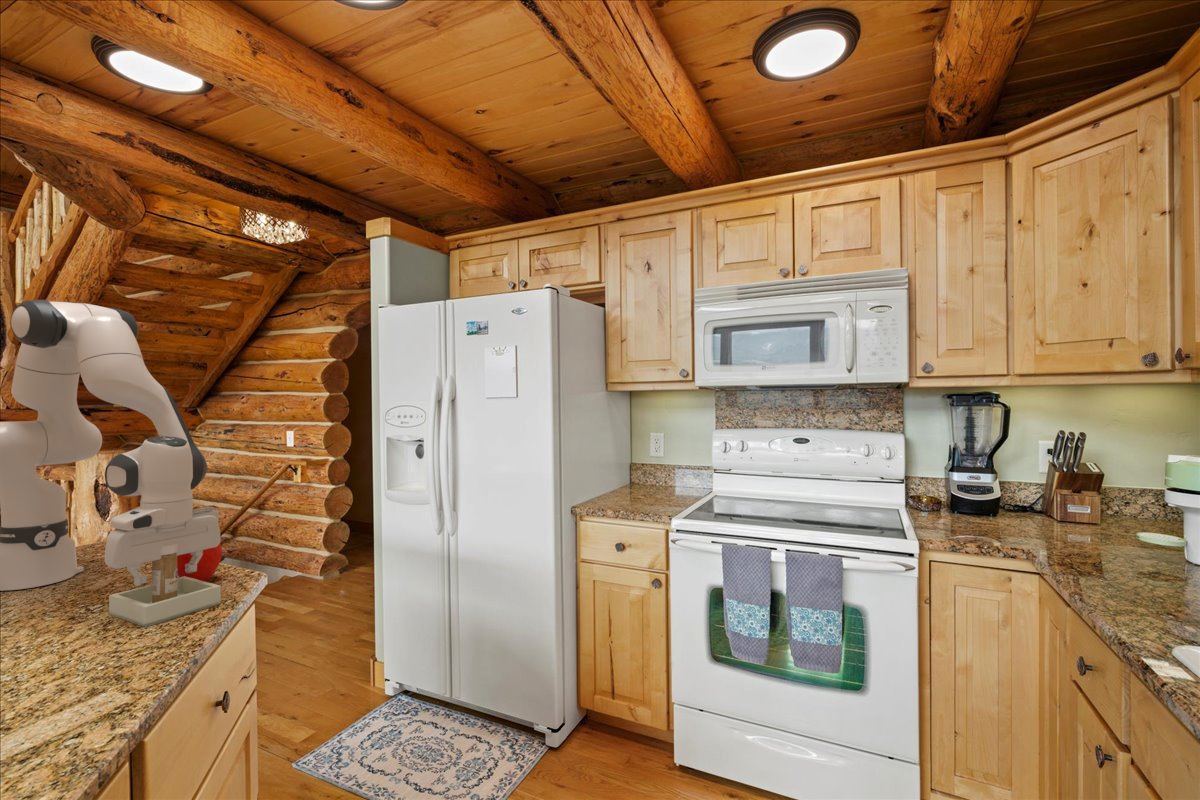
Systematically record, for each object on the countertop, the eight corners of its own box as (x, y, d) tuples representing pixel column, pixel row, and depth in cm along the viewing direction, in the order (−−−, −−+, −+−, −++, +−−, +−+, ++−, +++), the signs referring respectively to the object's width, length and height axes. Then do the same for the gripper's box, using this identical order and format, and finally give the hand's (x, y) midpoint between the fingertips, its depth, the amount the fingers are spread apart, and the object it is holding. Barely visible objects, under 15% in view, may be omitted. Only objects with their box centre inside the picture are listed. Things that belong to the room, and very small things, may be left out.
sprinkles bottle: (178, 607, 117) (178, 544, 117) (150, 613, 114) (151, 547, 114) (177, 601, 121) (177, 540, 121) (150, 606, 118) (150, 543, 118)
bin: (109, 614, 115) (109, 595, 115) (184, 593, 128) (184, 576, 128) (145, 627, 109) (145, 607, 109) (220, 604, 121) (220, 585, 121)
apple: (204, 573, 142) (204, 526, 142) (231, 578, 139) (232, 529, 139) (162, 585, 133) (162, 534, 133) (190, 591, 129) (190, 538, 129)
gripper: (210, 503, 129) (210, 563, 129) (100, 520, 111) (100, 590, 111) (226, 506, 126) (226, 567, 126) (116, 524, 108) (116, 595, 108)
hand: (166, 578), depth 118 cm, fingers open, 8 cm apart
